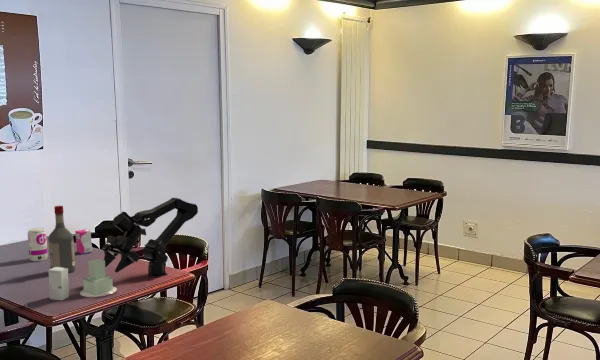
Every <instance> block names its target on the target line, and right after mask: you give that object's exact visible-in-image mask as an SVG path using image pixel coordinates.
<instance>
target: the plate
mask: <svg viewBox="0 0 600 360" xmlns="http://www.w3.org/2000/svg"><path fill="white" fill-rule="evenodd" d="M117 290H118V289H117V287H116V286H113V290H112V291H109V292H106V293H102V294H99V295H92V294H89V293H86V292H84V289H82V290H81V291H79V294H80V296H83V297H88V298H95V297H96V298H98V297H104V296H108V295H111V294H114V293H115V292H116V291H117Z"/></svg>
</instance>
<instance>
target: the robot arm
mask: <svg viewBox="0 0 600 360" xmlns="http://www.w3.org/2000/svg"><path fill="white" fill-rule="evenodd" d="M173 210H176V215H175V217H174V218H173V219H172V220H171V221H170V223H169V224H168V225H167V226H166V227H165V229H164V230H163V231H162V232H161V233H160V234H159V236H158V237H157V238H156V239H151V238H150V239H149V240H148V241H147V243H146V244H144V247H143V249H142V255H143V257H144V258H145V260H146V262H148V266H147V269H148V273H147V276H149V277H150V276H151V277H152V278H159V277H163V276H167V275H168V272H166V262H168V260H169V257H168V255H166V253H165V252H166V247H167V244H168V243H169V242H170V241H171V240H172V239H173V237H174V236H175V235H176V234H177V232H178V231H180V229H181V228H182V227H183V225H184V224H185V223H186V222H188V221H190V220H193V218H194V217H195V216H196V215H198V213H199V207H198V205H197V204H196V203H192V202H188V201H185V200H183V199H181V198H178V197H171V198H170V199H168V200H166V201H164V202H163V203H160V204H159V205H157V206H154V207H152V208H150V209H146V210H141V211H138V212H136V213H135V214H134V215H132V216H131V215H129V214H128V213H127V212H126V211H122V212H121V213H119V214H117V215H116V216H114V218H113V219H112V224H113V225H114V226H115V227H116V228H118V229H119V230H120V231H121V232H122V233H124V235H117V236H113V235H109V234H108V235H107V239H106V241H105V243H104V245H103V246H102V251H103V252H104V257H103V260H105V268H107V267H108V266H109V265H110V264H111V263H112V262H113V261H114V260H115V259H117V256H118V255H120V260H119V262H118V264H117V265H116V268H115V269H114V272H115V273H116V274H118V272H121V271H122V270H124V269H125V268H127V267H128V266H130V265H132V264H135V263H137V262H138V261H139V260H140V255H139V253H137V252H136V251H135V250H133V248H134V247H137V245H138V244H137V242H138V240H139V238H140V237H141V235H142V236H147V231H146V228H148V227H150V226H152V224H154V223H156V220H157V219H159V218H160V217H162V216H164V215H166V214H168V213H169V212H171V211H173ZM142 227H144V228H142Z"/></svg>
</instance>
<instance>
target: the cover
mask: <svg viewBox="0 0 600 360" xmlns="http://www.w3.org/2000/svg"><path fill="white" fill-rule="evenodd" d="M87 264H88V274H89V276H87V277H83V278H82V282H83V290H84V292H86V293H89V294H92V295H99V294H102V293H106V292H109V291H112V290H113V287H114V285H113V277H112V276H110V275H107V274H106V267H105V260H104V259H100V258H96V259H91V260H88V263H87Z"/></svg>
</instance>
